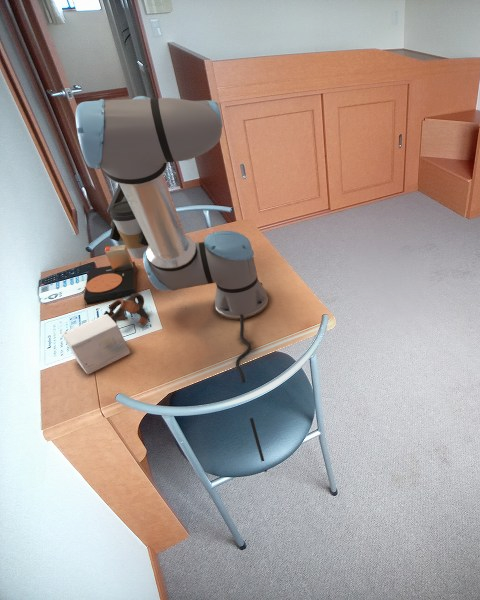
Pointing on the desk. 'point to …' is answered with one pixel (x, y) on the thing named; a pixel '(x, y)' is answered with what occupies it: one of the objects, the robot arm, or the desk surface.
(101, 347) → the cosmetics box
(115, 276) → the warming ring
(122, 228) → the coffee cup
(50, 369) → the desk surface
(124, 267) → the cream block
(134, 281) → the hotplate
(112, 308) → the pottery mug
